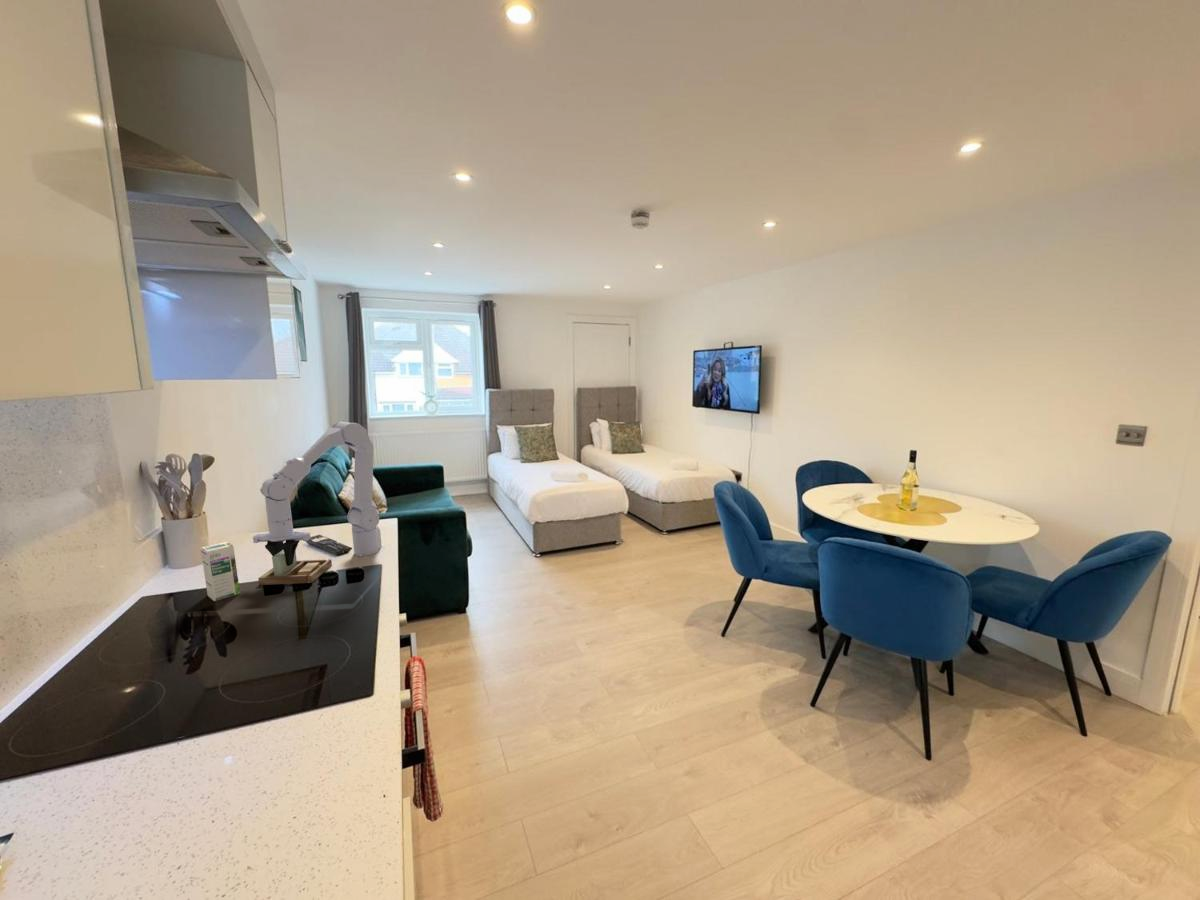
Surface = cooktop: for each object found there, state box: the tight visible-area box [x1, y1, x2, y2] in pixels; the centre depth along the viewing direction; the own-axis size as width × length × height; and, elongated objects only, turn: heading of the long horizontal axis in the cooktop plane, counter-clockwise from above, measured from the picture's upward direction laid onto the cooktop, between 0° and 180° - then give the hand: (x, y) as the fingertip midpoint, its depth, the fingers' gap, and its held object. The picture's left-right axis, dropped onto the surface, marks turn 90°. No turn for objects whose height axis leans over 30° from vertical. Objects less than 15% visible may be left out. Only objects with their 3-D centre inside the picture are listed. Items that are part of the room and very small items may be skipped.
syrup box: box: [199, 541, 241, 602], centre depth 125 cm, size 6×6×14 cm
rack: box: [258, 558, 333, 586], centre depth 138 cm, size 12×14×3 cm
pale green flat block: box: [271, 550, 298, 576], centre depth 137 cm, size 8×2×7 cm, turn 5°
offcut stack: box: [298, 562, 321, 579], centre depth 138 cm, size 7×4×2 cm, turn 5°
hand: (285, 564), depth 137 cm, fingers closed on pale green flat block, 2 cm apart
